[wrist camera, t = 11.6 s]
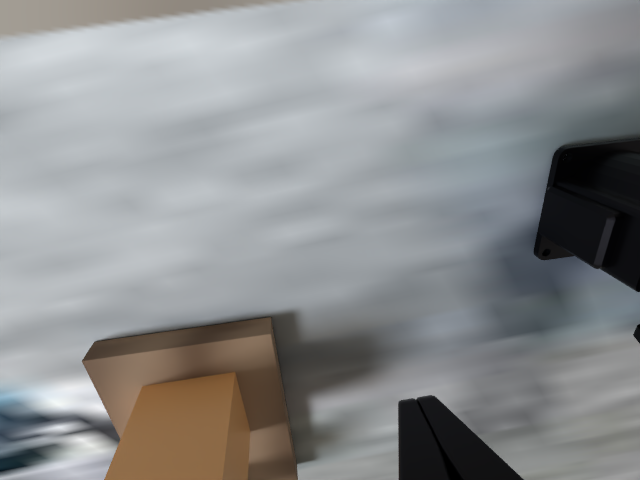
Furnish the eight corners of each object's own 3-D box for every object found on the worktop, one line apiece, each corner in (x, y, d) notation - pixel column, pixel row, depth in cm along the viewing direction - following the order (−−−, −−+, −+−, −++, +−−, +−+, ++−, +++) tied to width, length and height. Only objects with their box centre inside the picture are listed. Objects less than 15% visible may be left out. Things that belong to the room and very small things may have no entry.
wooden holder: (270, 316, 21) (270, 433, 14) (296, 464, 27) (304, 594, 21) (94, 341, 20) (7, 476, 14) (162, 487, 27) (124, 630, 20)
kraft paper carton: (235, 371, 21) (217, 521, 14) (250, 431, 23) (241, 585, 16) (142, 386, 20) (76, 547, 13) (167, 445, 23) (122, 608, 16)
